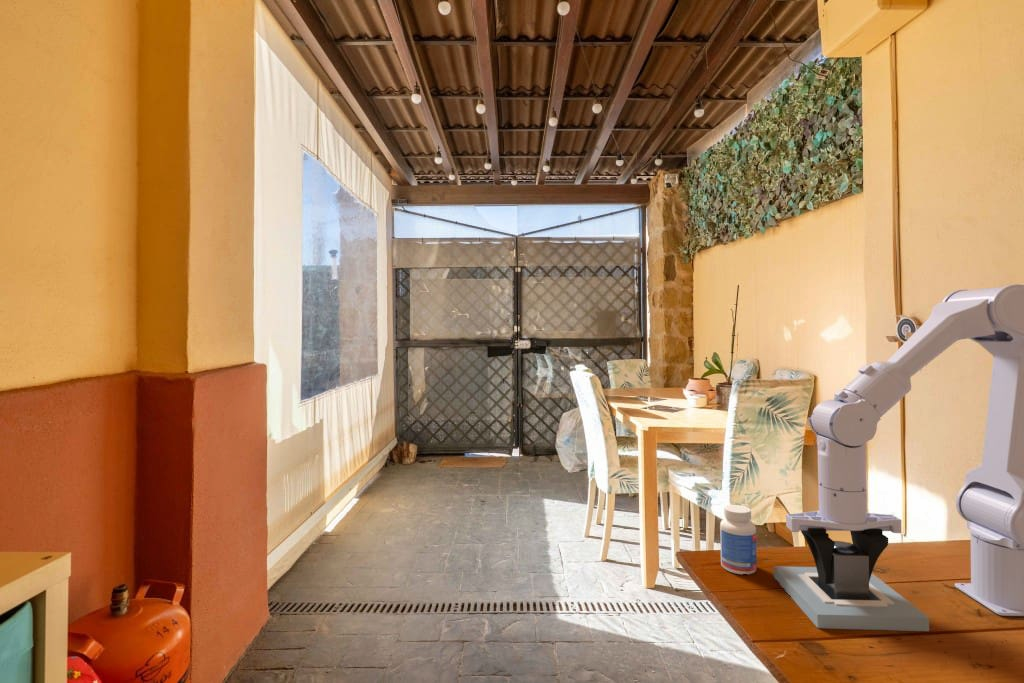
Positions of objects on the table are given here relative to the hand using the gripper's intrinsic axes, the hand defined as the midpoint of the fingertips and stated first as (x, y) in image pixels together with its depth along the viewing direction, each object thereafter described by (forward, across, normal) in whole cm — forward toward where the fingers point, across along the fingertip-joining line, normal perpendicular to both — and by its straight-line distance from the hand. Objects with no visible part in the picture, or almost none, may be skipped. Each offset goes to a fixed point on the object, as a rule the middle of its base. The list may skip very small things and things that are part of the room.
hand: (843, 580), depth 72 cm
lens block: (+2, 0, 0) cm, 2 cm away
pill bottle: (+3, +11, -10) cm, 15 cm away
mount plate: (+3, 0, 0) cm, 3 cm away
